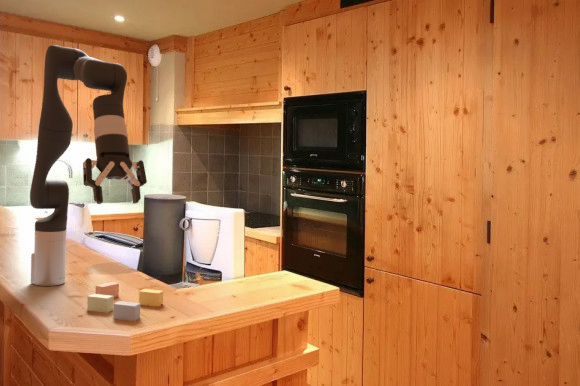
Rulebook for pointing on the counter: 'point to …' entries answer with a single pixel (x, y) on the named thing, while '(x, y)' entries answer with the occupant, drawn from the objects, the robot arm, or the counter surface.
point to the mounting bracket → (190, 285)
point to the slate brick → (126, 311)
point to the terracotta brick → (108, 289)
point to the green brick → (100, 303)
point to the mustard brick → (150, 297)
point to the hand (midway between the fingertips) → (118, 203)
